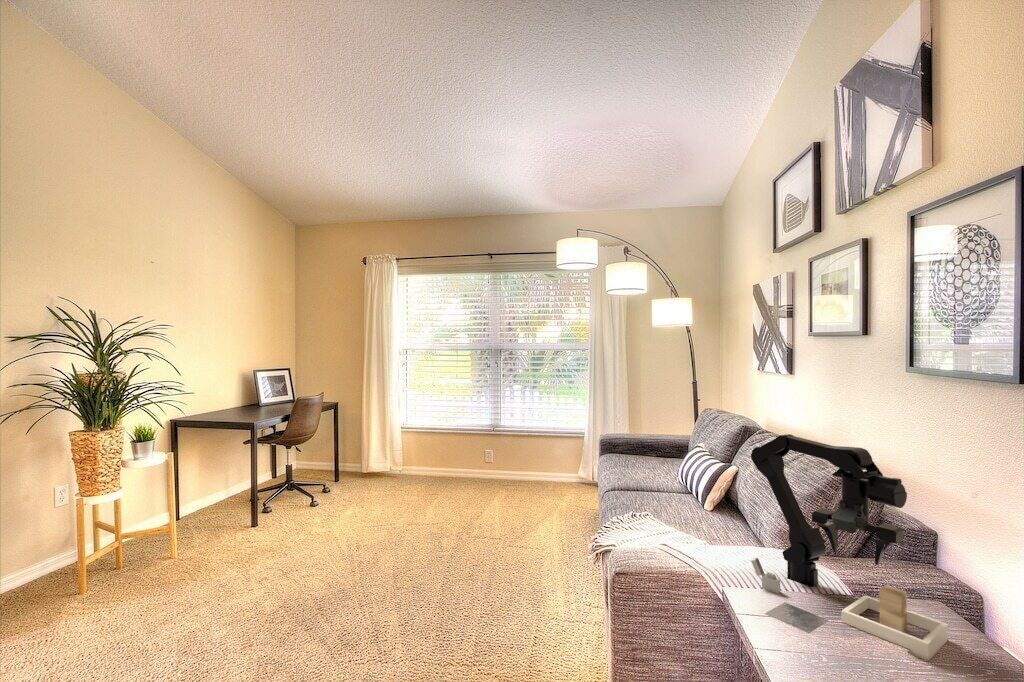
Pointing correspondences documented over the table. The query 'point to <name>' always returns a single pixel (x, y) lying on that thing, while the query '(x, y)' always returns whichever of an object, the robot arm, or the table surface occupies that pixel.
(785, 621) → the base plate
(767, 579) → the lighter
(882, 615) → the strut
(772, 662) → the table surface
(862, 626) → the rectangular frame
